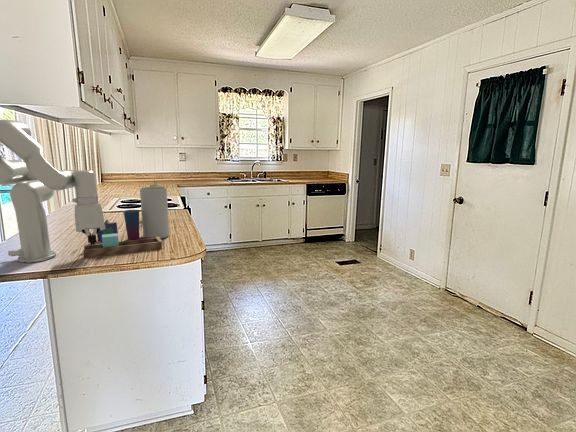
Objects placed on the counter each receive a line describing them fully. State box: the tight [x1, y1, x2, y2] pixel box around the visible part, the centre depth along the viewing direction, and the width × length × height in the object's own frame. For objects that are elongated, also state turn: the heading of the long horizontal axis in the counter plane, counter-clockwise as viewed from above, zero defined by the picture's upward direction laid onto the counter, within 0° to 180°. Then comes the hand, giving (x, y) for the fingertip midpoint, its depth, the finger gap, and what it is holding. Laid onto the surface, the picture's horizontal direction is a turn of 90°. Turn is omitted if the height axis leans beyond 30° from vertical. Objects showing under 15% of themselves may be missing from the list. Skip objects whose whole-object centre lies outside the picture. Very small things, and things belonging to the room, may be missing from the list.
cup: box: [123, 209, 140, 241], centre depth 164 cm, size 7×7×15 cm
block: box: [101, 233, 120, 248], centre depth 144 cm, size 6×5×7 cm
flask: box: [96, 219, 119, 242], centre depth 163 cm, size 9×3×11 cm, turn 135°
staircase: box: [149, 179, 165, 187], centre depth 213 cm, size 8×12×26 cm
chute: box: [82, 237, 163, 259], centre depth 147 cm, size 30×10×4 cm, turn 118°
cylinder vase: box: [139, 186, 170, 240], centre depth 171 cm, size 12×12×25 cm
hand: (92, 244), depth 141 cm, fingers closed
